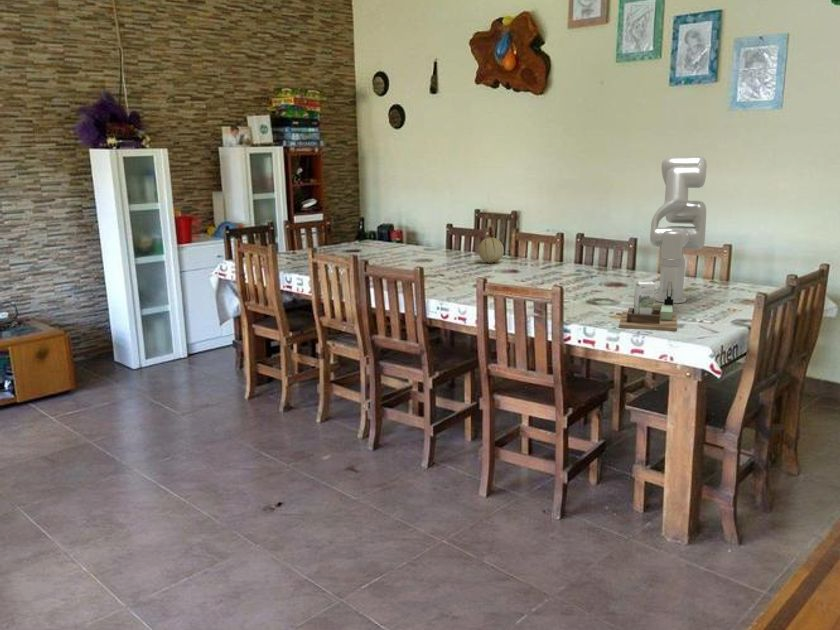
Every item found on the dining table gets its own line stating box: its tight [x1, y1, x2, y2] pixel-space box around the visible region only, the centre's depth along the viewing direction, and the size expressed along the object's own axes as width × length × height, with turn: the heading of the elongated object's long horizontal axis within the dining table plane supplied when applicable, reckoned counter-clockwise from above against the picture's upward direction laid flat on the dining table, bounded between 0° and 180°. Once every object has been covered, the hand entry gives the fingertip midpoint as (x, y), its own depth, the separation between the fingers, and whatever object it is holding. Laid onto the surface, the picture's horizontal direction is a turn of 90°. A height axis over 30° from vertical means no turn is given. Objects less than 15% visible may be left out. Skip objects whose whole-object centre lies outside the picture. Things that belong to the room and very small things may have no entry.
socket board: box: [618, 307, 678, 332], centre depth 274 cm, size 22×20×4 cm
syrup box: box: [633, 280, 656, 315], centre depth 272 cm, size 6×6×14 cm
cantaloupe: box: [477, 236, 505, 264], centre depth 414 cm, size 15×15×15 cm
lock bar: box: [660, 304, 674, 320], centre depth 277 cm, size 13×4×3 cm, turn 162°
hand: (668, 309), depth 285 cm, fingers closed
